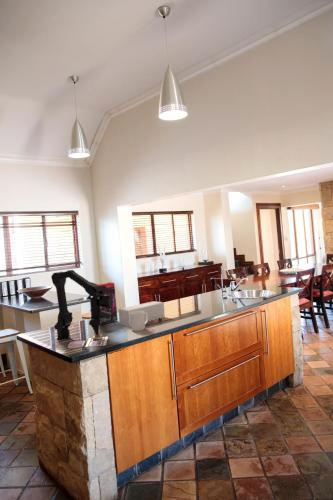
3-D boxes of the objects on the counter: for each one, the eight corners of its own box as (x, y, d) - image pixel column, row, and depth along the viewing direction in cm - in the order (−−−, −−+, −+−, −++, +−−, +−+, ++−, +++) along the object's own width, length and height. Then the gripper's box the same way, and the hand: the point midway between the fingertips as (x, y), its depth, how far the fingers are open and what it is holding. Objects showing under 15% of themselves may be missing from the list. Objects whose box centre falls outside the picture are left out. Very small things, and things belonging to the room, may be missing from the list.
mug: (136, 332, 225) (135, 314, 225) (128, 330, 232) (127, 312, 232) (152, 328, 233) (151, 310, 233) (143, 326, 240) (142, 309, 240)
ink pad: (68, 348, 200) (67, 345, 200) (71, 343, 209) (70, 341, 209) (83, 347, 201) (82, 344, 201) (85, 342, 210) (85, 340, 210)
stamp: (92, 340, 212) (91, 322, 212) (93, 338, 217) (92, 321, 217) (101, 339, 213) (100, 322, 212) (102, 337, 218) (101, 320, 217)
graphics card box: (98, 326, 249) (95, 285, 248) (92, 325, 254) (89, 285, 253) (118, 321, 262) (115, 282, 261) (111, 320, 266) (109, 282, 266)
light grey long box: (154, 315, 272) (153, 301, 272) (164, 317, 265) (163, 302, 265) (119, 325, 250) (118, 309, 250) (129, 327, 242) (128, 310, 242)
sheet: (84, 347, 201) (84, 346, 201) (89, 338, 219) (89, 337, 219) (105, 345, 202) (105, 344, 202) (108, 336, 220) (108, 336, 220)
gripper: (108, 308, 206) (110, 336, 206) (110, 303, 224) (112, 328, 225) (88, 310, 205) (90, 338, 205) (92, 304, 223) (93, 330, 224)
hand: (97, 333), depth 215 cm, fingers open, 4 cm apart
